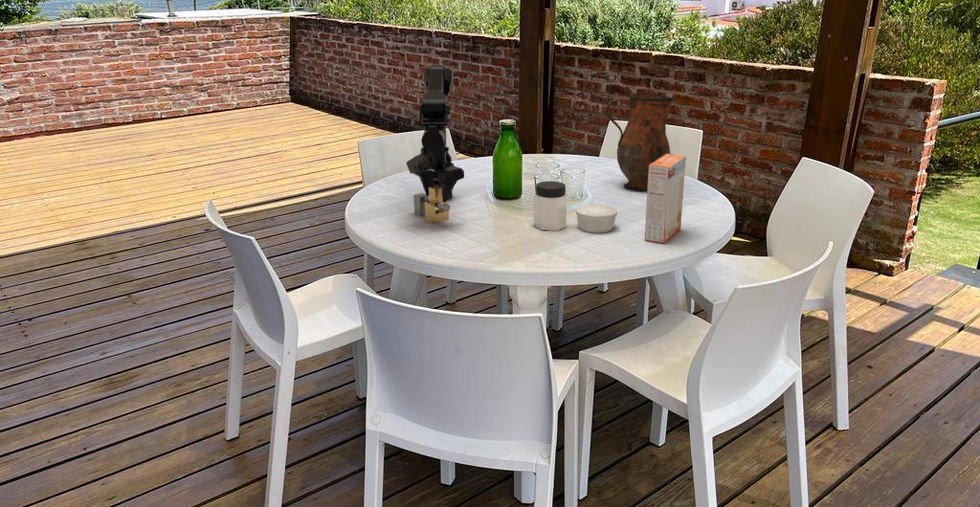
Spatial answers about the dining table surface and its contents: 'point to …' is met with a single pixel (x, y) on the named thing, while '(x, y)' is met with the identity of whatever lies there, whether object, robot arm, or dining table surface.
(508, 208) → the dining table surface
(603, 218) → the ramekin
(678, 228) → the cracker box
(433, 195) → the stirrup
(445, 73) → the robot arm
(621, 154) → the pitcher
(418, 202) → the hook post
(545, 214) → the jar
